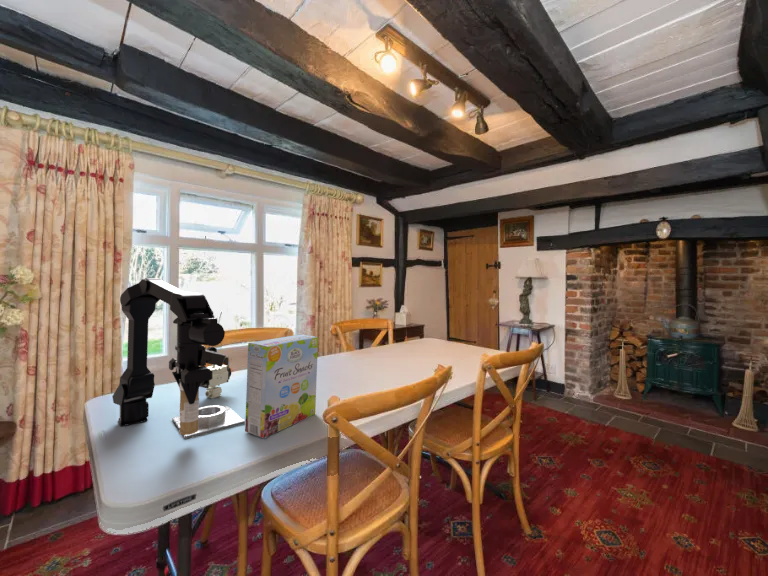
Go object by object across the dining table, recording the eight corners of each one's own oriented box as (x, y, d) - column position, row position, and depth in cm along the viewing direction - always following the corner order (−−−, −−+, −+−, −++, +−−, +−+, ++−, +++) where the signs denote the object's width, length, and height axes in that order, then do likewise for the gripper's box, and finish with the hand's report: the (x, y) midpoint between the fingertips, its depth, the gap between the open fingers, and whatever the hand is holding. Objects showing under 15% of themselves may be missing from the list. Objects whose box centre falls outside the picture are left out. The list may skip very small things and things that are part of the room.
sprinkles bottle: (179, 430, 92) (179, 379, 91) (199, 426, 94) (199, 377, 94) (178, 437, 88) (179, 384, 87) (199, 433, 90) (199, 382, 90)
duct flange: (185, 438, 94) (185, 426, 94) (172, 420, 106) (172, 409, 106) (244, 423, 105) (245, 412, 105) (227, 408, 117) (227, 398, 117)
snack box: (265, 440, 94) (266, 346, 93) (243, 433, 98) (244, 342, 98) (318, 414, 113) (319, 335, 112) (297, 409, 117) (298, 333, 116)
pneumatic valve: (194, 400, 123) (194, 366, 123) (223, 391, 133) (223, 360, 133) (204, 403, 121) (204, 369, 120) (233, 393, 131) (233, 362, 131)
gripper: (234, 343, 89) (233, 404, 89) (212, 334, 103) (211, 386, 103) (185, 349, 81) (184, 415, 82) (168, 338, 95) (168, 394, 96)
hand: (189, 401), depth 91 cm, fingers closed on sprinkles bottle, 4 cm apart
